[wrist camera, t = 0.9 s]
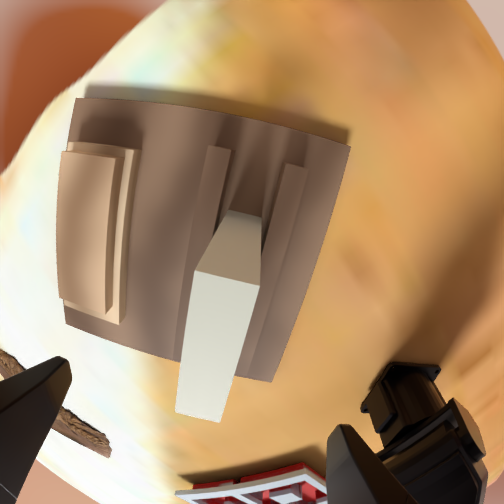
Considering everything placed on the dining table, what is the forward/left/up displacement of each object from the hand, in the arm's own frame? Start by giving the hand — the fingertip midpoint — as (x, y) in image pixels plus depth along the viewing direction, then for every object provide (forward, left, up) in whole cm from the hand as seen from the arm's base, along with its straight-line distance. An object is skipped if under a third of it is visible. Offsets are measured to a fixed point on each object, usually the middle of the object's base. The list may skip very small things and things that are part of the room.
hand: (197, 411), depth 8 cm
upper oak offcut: (+10, -1, -10) cm, 14 cm away
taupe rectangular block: (0, 0, -11) cm, 11 cm away
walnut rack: (+4, 0, -12) cm, 13 cm away
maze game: (-18, +41, -13) cm, 46 cm away
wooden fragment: (+22, +27, -13) cm, 37 cm away
